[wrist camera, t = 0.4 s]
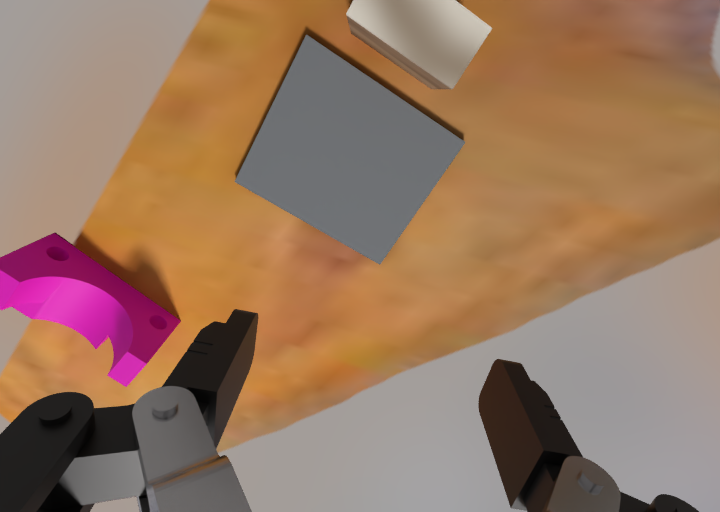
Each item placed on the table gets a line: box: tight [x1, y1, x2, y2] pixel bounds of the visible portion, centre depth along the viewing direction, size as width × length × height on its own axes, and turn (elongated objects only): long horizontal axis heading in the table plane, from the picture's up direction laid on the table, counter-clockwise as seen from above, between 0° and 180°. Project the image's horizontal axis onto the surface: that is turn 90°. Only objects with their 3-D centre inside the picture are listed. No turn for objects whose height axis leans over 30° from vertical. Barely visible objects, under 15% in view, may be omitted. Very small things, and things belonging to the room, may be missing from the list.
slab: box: [346, 0, 492, 89], centre depth 28 cm, size 4×8×9 cm, turn 59°
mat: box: [235, 35, 465, 264], centre depth 36 cm, size 14×16×1 cm
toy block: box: [0, 233, 181, 387], centre depth 39 cm, size 15×6×8 cm, turn 47°
